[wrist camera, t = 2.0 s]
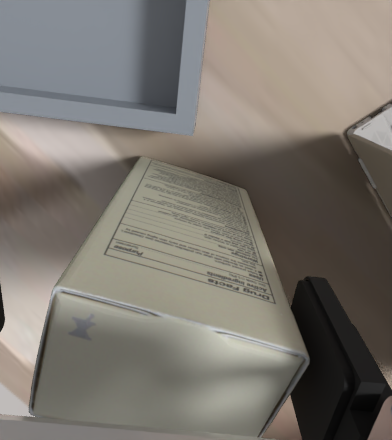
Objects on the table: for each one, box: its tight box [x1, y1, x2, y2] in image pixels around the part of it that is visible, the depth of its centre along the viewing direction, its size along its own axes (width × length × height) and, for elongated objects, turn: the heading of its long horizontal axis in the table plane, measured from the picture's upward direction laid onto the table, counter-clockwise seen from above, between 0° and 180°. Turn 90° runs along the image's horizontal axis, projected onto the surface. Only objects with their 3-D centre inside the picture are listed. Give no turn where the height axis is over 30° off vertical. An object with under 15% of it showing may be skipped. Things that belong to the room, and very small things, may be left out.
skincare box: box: [29, 156, 310, 438], centre depth 14 cm, size 6×4×12 cm
